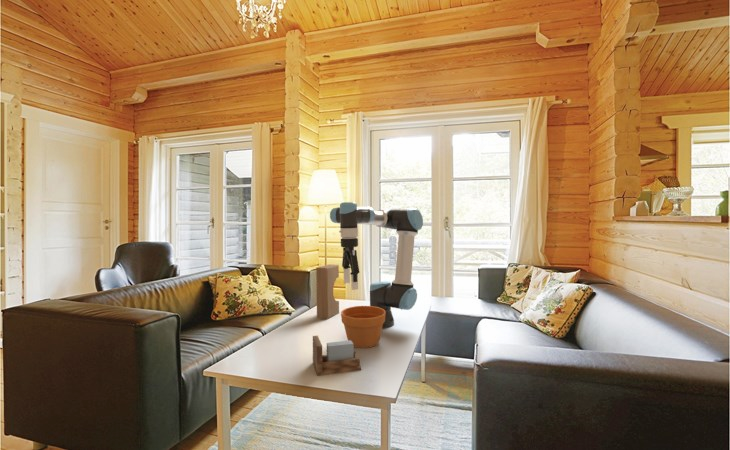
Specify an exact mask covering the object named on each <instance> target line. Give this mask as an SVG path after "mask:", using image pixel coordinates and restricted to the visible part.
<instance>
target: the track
mask: <svg viewBox="0 0 730 450" xmlns="http://www.w3.org/2000/svg"><path fill="white" fill-rule="evenodd" d="M353 357H354V358H352V359H344V360H336V361H328V362H327V354H323V344H322V342H321V340H320V338H319V336H318V335H312V364H313V367H314V371H315V373H316V376H317V377H319V376H326V375H327V376H328V375H333V374H334V375H335V374H340V373H349V372H355V371H356V372H357V371H361V370H362V366H361V362H360V360H361V358H360V357H356V351H355V350H353Z"/></svg>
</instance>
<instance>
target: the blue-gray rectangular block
mask: <svg viewBox="0 0 730 450" xmlns="http://www.w3.org/2000/svg"><path fill="white" fill-rule="evenodd" d="M353 352H354V346H353V342H352V341H351V340H349V341H348V340H342V341H332V342H326V355H327V362H328V361H336V360H344V359H352V358H354V357H353Z"/></svg>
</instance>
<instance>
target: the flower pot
mask: <svg viewBox="0 0 730 450" xmlns="http://www.w3.org/2000/svg"><path fill="white" fill-rule="evenodd" d="M385 315H386V312H385V310H384V309H382V308H379V307H374V306H370V305H357V306H356V305H355V306H349V307H347V308H344V309H343V310H341V312H340V316H341V322H342V324H343V326H344V330H345V335H346V338H347V340H346V341H349V340H351V341H352V342H353V348H354V347H355V348H360V349H365V348H372V347H376V346H377V345H378V344H379V343H380V340H381V336H382V330H383V328H382V326H383V323H384V322H385Z"/></svg>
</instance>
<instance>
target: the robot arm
mask: <svg viewBox="0 0 730 450" xmlns="http://www.w3.org/2000/svg"><path fill="white" fill-rule="evenodd" d="M422 215H423V214H422V213H421V211H420V210H419V209H418V208H414V207H411V208H410V207H407V208H389V209H378V210H374V208H372V207H371V206H358V204H357V202H355V201H353V202H351V201H350V202H349V201H347V202H341V203H340V204H339V206H338V207H334V208H332V209H331V210H330V212H329V219H330V221H331V222H332V223H333V224H340V226H339V227H340V230H338V231H339V233H340V246H341V248H342V249H343V251H342V261H341V262H342V263H341V267H342V269H343V284H351V287H350V288H351V290H352V291H354V290H359V274H360V267H359V261H358V260H359V259H358V254H357V252H358V251H357V249H355V248H356V247H358V246H359V238H358V236H359V227H358V225H369V226H372V225H373V226H376V227H379V228H384V229H390V230H396V234H398V239H397V240H398V241H397V251H396V262H395V273H394V274H395V275H394V280H392V281H386V280H384V281H377V282H372V283H371V284H370V285H369V306H374V307H379V308H382V309H384V310H385V312H386V315H385V322H384V323H383V326H382V329H383V328H389V327H393V326H394V325H395V318H394V315H393V312H392V309H391V308H393V309H398V310H402V311H403V310H405V311H409V310H411V309H413V307H414V306H415V304H416V302H417V299H418V292H417V289H416V288H414V283H413V282H412V275H413V274H412V273H413V262H414V259H413V258H414V248H415V237H416V236H418V233H419V231H420V230H422V229H423V225H424V219H423V216H422Z"/></svg>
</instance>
